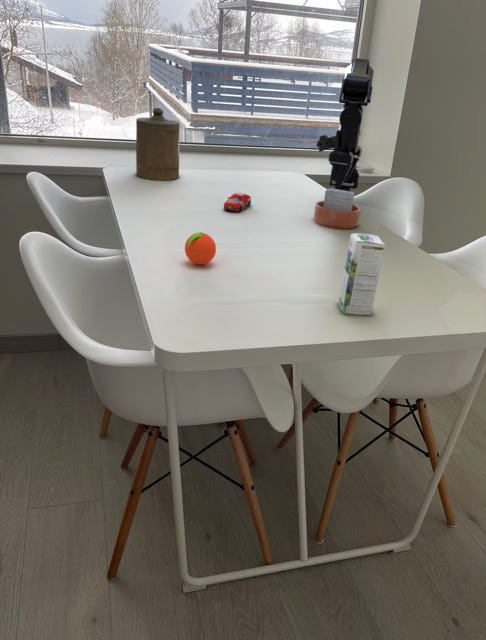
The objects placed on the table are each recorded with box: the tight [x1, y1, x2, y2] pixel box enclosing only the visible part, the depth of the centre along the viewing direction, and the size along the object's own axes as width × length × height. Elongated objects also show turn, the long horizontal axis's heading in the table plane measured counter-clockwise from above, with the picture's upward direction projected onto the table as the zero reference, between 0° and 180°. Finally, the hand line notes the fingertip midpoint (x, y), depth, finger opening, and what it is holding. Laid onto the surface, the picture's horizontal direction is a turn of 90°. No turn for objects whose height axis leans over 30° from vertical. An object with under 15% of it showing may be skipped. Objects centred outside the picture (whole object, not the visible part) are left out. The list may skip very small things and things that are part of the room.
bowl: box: [313, 200, 361, 230], centre depth 172 cm, size 13×13×5 cm
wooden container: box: [135, 107, 181, 181], centre depth 201 cm, size 15×15×22 cm
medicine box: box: [323, 187, 355, 212], centre depth 171 cm, size 8×4×9 cm, turn 71°
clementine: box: [184, 231, 217, 266], centre depth 128 cm, size 8×7×7 cm
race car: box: [223, 192, 252, 213], centre depth 177 cm, size 13×5×4 cm, turn 161°
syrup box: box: [338, 233, 386, 316], centre depth 112 cm, size 6×6×14 cm
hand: (341, 185), depth 168 cm, fingers open, 9 cm apart
